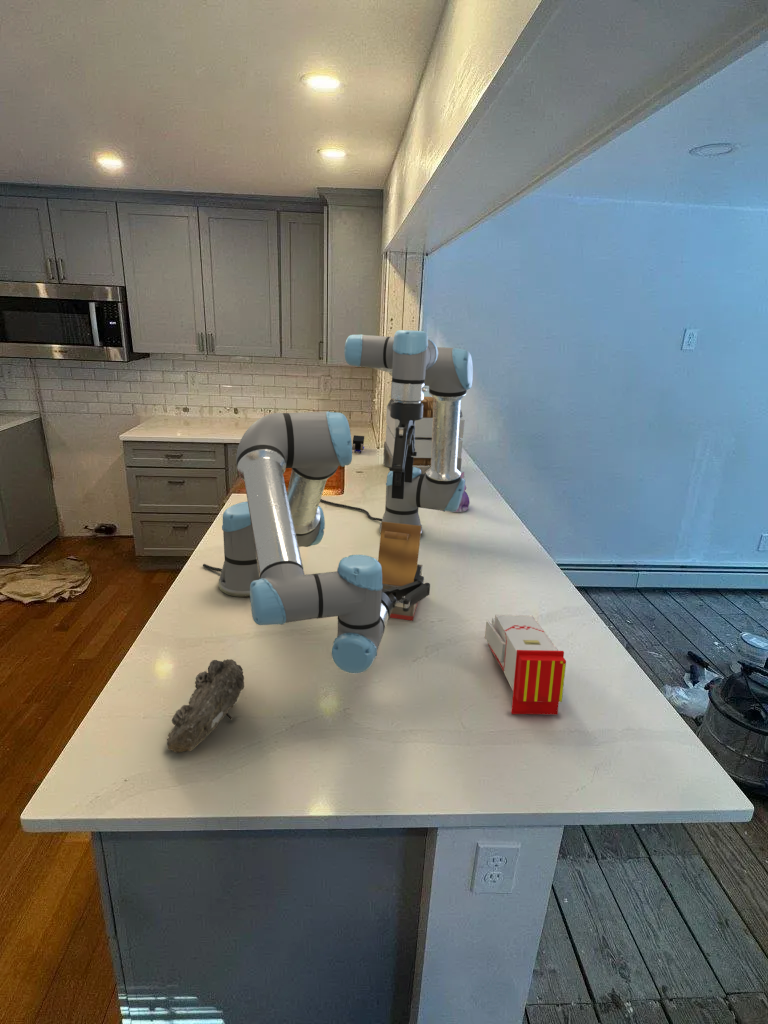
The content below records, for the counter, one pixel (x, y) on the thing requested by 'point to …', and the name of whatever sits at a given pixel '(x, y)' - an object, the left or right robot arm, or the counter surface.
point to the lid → (399, 552)
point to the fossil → (206, 705)
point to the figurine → (463, 499)
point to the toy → (527, 663)
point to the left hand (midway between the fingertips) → (389, 568)
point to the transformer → (418, 436)
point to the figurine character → (358, 443)
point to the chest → (398, 611)
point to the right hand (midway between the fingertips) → (402, 489)
